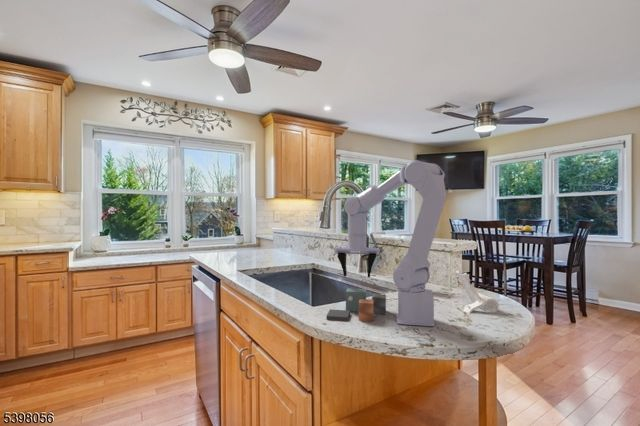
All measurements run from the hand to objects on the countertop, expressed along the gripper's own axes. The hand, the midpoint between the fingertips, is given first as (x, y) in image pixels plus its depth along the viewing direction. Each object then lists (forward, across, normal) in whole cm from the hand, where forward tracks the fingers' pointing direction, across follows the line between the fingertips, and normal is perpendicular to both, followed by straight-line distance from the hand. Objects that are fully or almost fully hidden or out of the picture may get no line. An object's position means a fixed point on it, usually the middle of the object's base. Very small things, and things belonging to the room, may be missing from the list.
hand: (356, 276), depth 104 cm
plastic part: (+10, -37, -3) cm, 38 cm away
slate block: (+10, -7, +6) cm, 13 cm away
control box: (+9, 0, +5) cm, 11 cm away
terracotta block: (+10, -4, +12) cm, 16 cm away
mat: (+9, +4, +12) cm, 16 cm away
